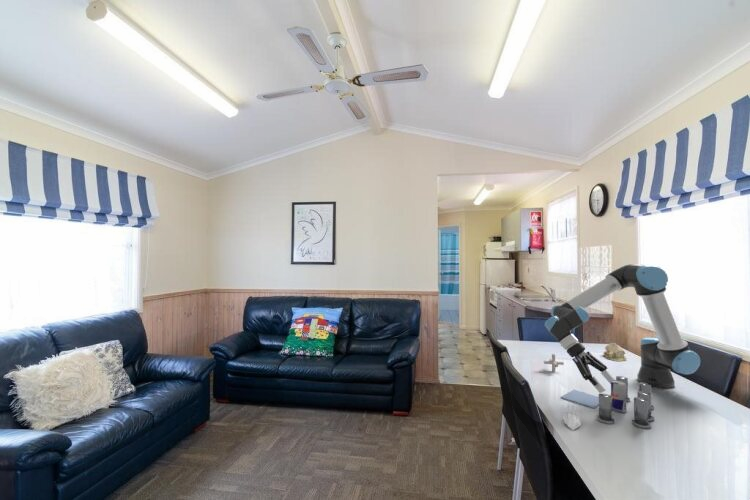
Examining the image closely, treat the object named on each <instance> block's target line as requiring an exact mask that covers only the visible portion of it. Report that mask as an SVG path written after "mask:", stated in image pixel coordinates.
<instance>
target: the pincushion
mask: <svg viewBox="0 0 750 500" xmlns="http://www.w3.org/2000/svg"><path fill="white" fill-rule="evenodd" d="M562 421H563V422H564V424H565V425H567V427H569V429H571V430H572V431H575V430H576V429H578V428H579V427H581V423H582V422H581V421H582V420H581V419H580V418H579V416H578V415H576V414H575V415H574V414H573V413H565V414H563V417H562Z"/></svg>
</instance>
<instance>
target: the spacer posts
mask: <svg viewBox="0 0 750 500" xmlns="http://www.w3.org/2000/svg"><path fill="white" fill-rule="evenodd" d="M628 379H629V378H628V377H626V376H624V375H623V376H622V375H616V376H615V380H618V381H622V382H624V383H625V384H626V403H630V402H631V398H630V397H629V392H628V391H629V389H628V388H629V382H628ZM637 385H638V391H637V393H636V394H637V396H634V397H633V417H634V418H633V419H632V420H631V425H633V426H635V427H636V428H639V429H645V430H650V429H652V424H651V423H652V422H654V421H655V418H654V416H653V415H652V411H654V410H655V407H654V405H652V386H651V385H650V384H648V383H642V382H640V381H639V382H638V384H637ZM598 397H599V406H598V415H596V421H598V422H600V423H601V424H606V425H614V424H615V419H614V418H613V410H612V397H611V394H607V393H599V394H598Z"/></svg>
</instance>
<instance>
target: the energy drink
mask: <svg viewBox="0 0 750 500" xmlns="http://www.w3.org/2000/svg"><path fill="white" fill-rule="evenodd" d="M610 396H611V397H612V411H614V412H617V413H620V414H621V413H622V414H624V413H627V402H626V384H625V383H624V382H622V381H618V380H616V379H615V380H612V381H611V384H610Z"/></svg>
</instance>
